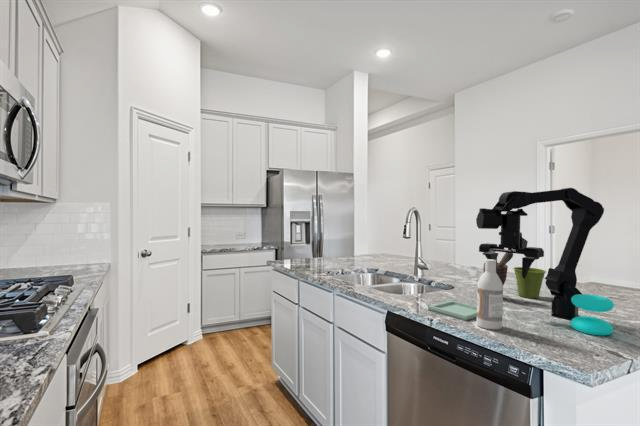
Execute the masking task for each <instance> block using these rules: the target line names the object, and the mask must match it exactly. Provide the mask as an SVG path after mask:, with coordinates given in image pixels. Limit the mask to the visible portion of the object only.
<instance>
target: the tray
mask: <svg viewBox="0 0 640 426" xmlns="http://www.w3.org/2000/svg"><path fill="white" fill-rule="evenodd" d="M427 308H428V309H427V310H428V311H430V312H433V313H436V314H439V315H444V316H446V317H451V318H453V319H458V320H460V321H465V322H466V321H470V320H473V319H477V305H476V306H475V305H472V304H468V303H463V302H461V301H460V302H459V301H455V300H448V301H444V302H439V303H434V304H430V305H428V306H427Z"/></svg>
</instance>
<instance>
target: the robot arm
mask: <svg viewBox="0 0 640 426" xmlns="http://www.w3.org/2000/svg"><path fill="white" fill-rule="evenodd" d="M557 201H559V202H560V201H562V203H564V204H565V206H566V208H567V209H568V210H570V211H571V216H570V218H571V223H572V227H571V230H570V231H569V232H570V233H569V235H568V238H567V241H566V243H565V244H564V246H565V247H564V249H563V250H562V254H561V257H560V260H559V262H558V265H557V266H555V268H552V267H549V268H548V270H547V273H546V274H547V275H546V276H544V279H545V286H546V287H547V289H548V290H549V292H550V295H551V296H553V300H551V314H550V316H551V317H552V316H553V317H557V318H560V319H564V320H565V319H566V320H570V321H571V320H572V319H573V318H575V317H578V316H580V315H579V308H578V307H576V306H575V305H574V304H573V303H572V301H571V298H572V296H574V295H577V294H583V293H582V292H581V291H580V289H578V288H577V283H578V282H577V281H578V278H577V272H576V269H577V266H578V264H579V261H580V259H581V255H582V253H583V250H584V247H585V245H586V242H587V240H588V237H589V235H590V231H591V230H592V228H594V227H595V226H596V225H597V224H598V223H599V222H600V220H601V219H602V218H603V215H604V213H605V208H604V206H603V205H602V204H601V203H600V202H598V201H595V200H594V199H592V198H591V197H589V196H587V195H585V194H583V193H581V191H578V190H577V189H576V188H573V187H563V188H561V189H553V190H545V191H537V192H527V191H516V190H515V191H506V192H502V193H501V194H500V196H499V198H498V202H497V203H496V204H495V205H494V207H492V209H491V208H484V207H483V208H481V207H480V208H479V211H478V214H477V217H476V226H477V228H478V229H481V230H482V229H483V230H490V229H491V230H498V229H499V228H500V231H498V236H500V244H497V243H489V242H487V243H480V245H479V246H478V252H479V253H482V255H483V256H485V259H493V260H496V273H497V262H498V257H499V252H500V253H506V252H507V253H513V254H517V255H523V257H521V259H522V260H521V263H522V264H521V267H522V277H523V278H526V275H527V273H528V271H529V268H531V266H532V265H533V263H534V262H535V260H539V259H540V258H544V257H545V251H544V249H543V248H542V247H531V246H528V243H529V241H528V240H527V239H525V238H524V237H523V233H522V232H521V217H527V216H528V213H527V212H526V211H525V210H524V209H523V208H524V207H528V206H530V205H532V204H540V203H549V202H550V203H551V202H557ZM513 209H514V210H513ZM502 212H503V213H502ZM504 212H505V213H504Z"/></svg>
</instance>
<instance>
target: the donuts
mask: <svg viewBox="0 0 640 426" xmlns="http://www.w3.org/2000/svg"><path fill="white" fill-rule="evenodd" d="M571 301H572V303H573V304H574V305H575V306H576V307H578V309H580V310H583V311H584V310H585V311H590V312H596V313H606V312H609V311H612V310H613V309H614V307H615V303H614V301H612V300H611V299H610V298H608V297H605V296H601V295H595V294H588V293H582V294H577V295H574V296H572V298H571ZM570 326H571V327H572V328H573V330H576V331H578V332H581V333H583V334H588V335H592V336H593V335H594V336H600V337H601V336H603V337H604V336H609V335H612V334H613V332H614V327H613V325H612V324H611V323H610V322H608V321H606V320H604V319H603V318H598V317H594V316H588V315H587V316H586V315H579V316H578V317H575V318H573V319H572V320H570Z"/></svg>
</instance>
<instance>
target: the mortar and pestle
mask: <svg viewBox="0 0 640 426" xmlns="http://www.w3.org/2000/svg"><path fill="white" fill-rule="evenodd" d="M513 257H514V253H507V252H504V255H503V256H502V258H501V260H499V262H498V261H497V275H498V276H499V278H500V280H501V282H502V285H503V286H504V285H505V282H506V281H507V275H508V274H507V273H508V265H507V263H509V262H510V261H511V259H513ZM485 264H486V262H484V263H483V271H482V275H483V274H484V272H485Z"/></svg>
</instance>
